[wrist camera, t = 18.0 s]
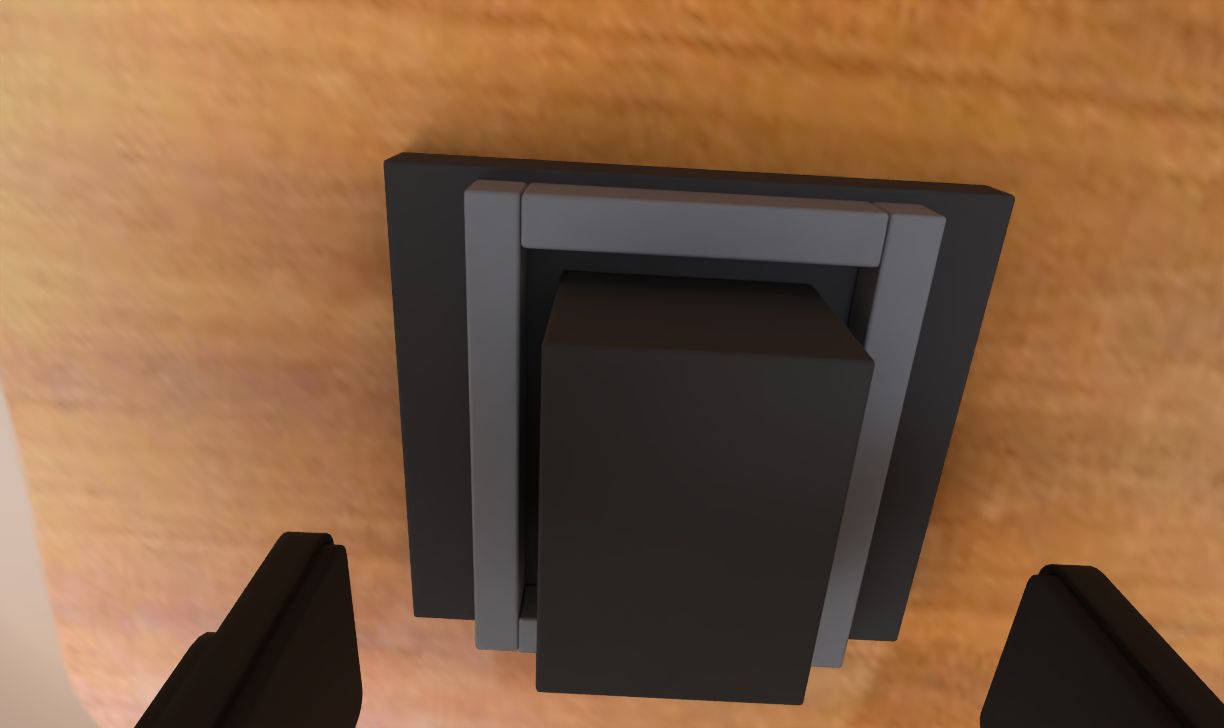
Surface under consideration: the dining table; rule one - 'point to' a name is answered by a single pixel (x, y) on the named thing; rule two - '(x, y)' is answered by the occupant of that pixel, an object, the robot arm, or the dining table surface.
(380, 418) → the dining table surface
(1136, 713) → the robot arm
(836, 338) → the black block
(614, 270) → the base pad
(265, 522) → the dining table surface
